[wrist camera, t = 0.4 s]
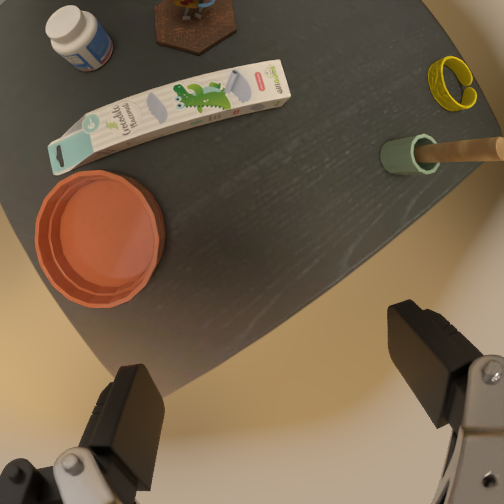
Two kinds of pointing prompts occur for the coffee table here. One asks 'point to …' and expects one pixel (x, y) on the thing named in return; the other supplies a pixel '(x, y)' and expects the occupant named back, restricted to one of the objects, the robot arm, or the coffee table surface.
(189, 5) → the robot figurine
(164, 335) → the coffee table surface
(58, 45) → the pill bottle
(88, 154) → the box
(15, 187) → the coffee table surface
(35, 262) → the coffee table surface
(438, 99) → the bracelet
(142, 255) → the bowl
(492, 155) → the stick
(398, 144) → the holder
